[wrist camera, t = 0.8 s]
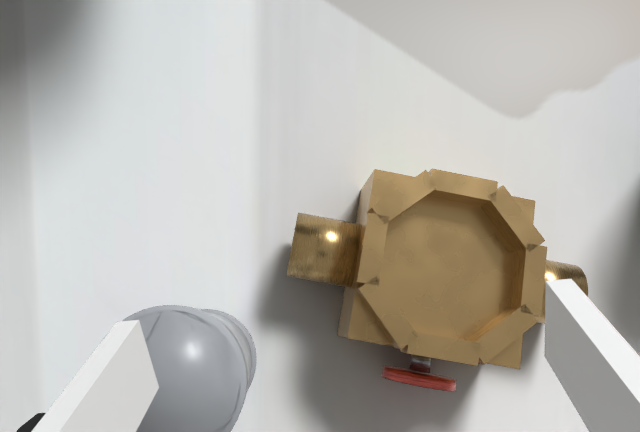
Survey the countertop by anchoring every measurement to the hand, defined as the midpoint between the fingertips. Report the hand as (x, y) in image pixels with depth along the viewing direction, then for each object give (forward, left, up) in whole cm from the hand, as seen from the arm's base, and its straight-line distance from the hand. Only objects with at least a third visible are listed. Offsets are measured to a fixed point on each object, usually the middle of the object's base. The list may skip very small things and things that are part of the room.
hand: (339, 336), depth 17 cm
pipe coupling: (+3, -6, -17) cm, 18 cm away
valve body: (-5, +7, -17) cm, 19 cm away
